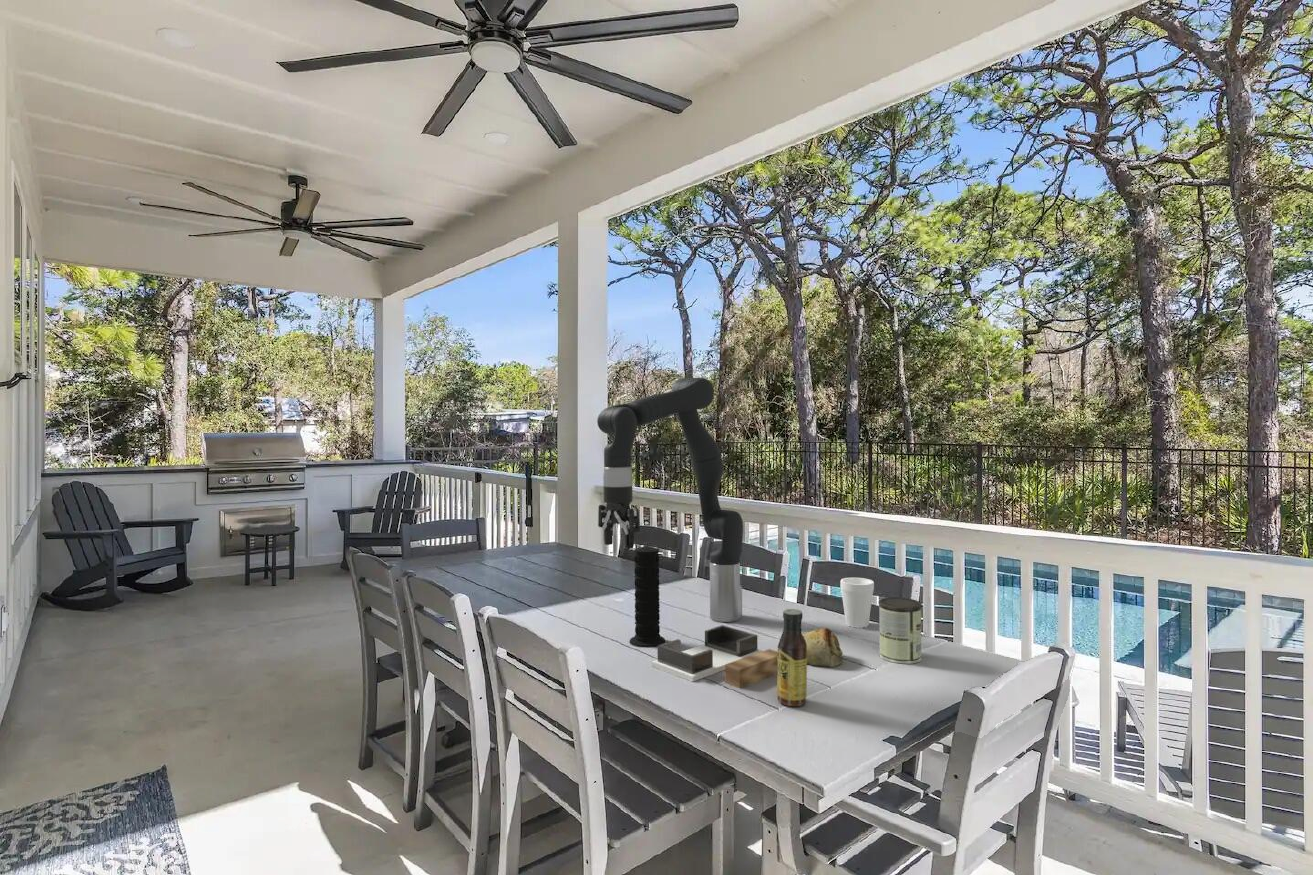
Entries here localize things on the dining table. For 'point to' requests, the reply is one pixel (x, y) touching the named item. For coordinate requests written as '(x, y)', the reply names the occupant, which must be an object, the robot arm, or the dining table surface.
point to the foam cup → (857, 600)
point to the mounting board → (718, 665)
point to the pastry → (823, 648)
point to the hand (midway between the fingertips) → (618, 546)
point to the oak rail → (751, 668)
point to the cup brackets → (714, 638)
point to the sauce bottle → (792, 661)
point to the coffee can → (900, 630)
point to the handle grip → (647, 598)
